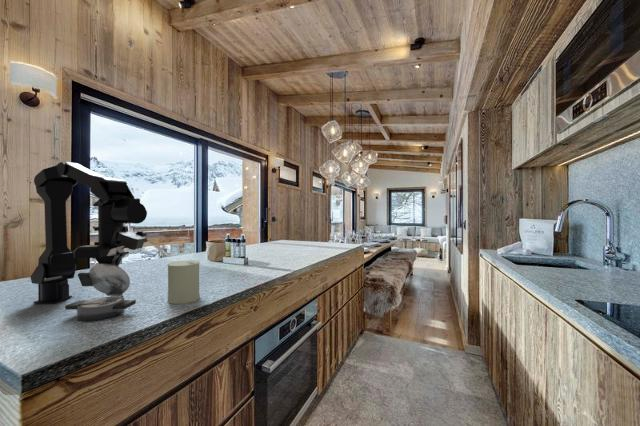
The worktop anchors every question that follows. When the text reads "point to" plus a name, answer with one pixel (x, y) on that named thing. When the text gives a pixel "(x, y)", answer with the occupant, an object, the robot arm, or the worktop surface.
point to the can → (183, 282)
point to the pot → (100, 308)
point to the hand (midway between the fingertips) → (111, 278)
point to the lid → (106, 279)
